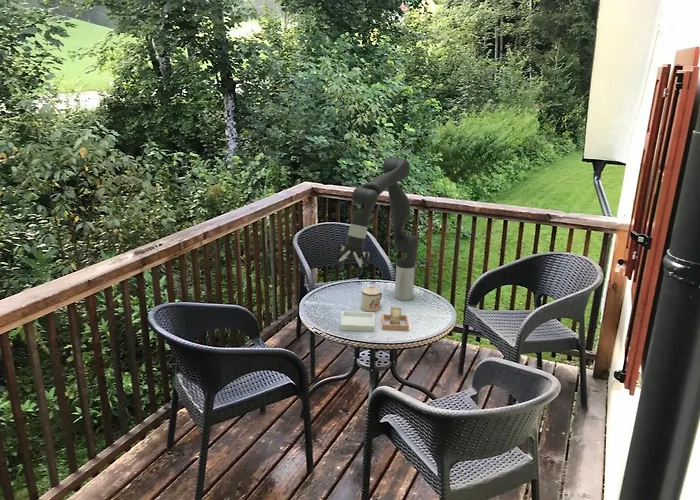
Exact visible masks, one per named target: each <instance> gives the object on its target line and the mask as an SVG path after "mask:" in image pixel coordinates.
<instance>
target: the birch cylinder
mask: <svg viewBox="0 0 700 500" xmlns="http://www.w3.org/2000/svg"><path fill="white" fill-rule="evenodd" d="M401 313H402V308H401V307H399V306H391V308H390V320H389V324H395V325H401V321H400V318H401V315H402V314H401Z"/></svg>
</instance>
